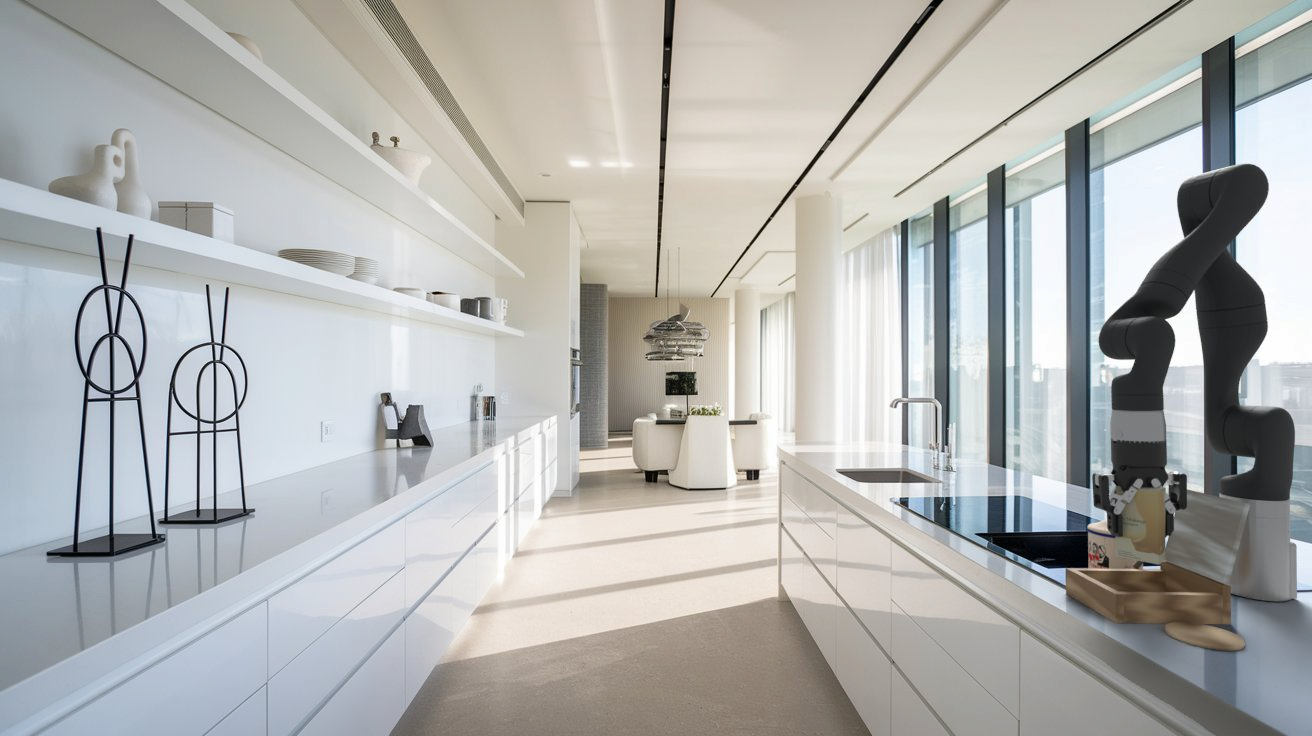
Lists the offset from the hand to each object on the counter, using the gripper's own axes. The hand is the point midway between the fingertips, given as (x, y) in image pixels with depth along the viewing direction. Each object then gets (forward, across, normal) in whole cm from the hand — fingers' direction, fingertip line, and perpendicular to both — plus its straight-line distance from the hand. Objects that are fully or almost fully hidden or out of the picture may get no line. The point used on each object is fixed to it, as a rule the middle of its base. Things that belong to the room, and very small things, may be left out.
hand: (1140, 535), depth 109 cm
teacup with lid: (+13, -6, -16) cm, 21 cm away
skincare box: (+4, 0, 0) cm, 4 cm away
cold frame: (+12, -1, 0) cm, 12 cm away
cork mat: (+12, 0, +12) cm, 17 cm away
